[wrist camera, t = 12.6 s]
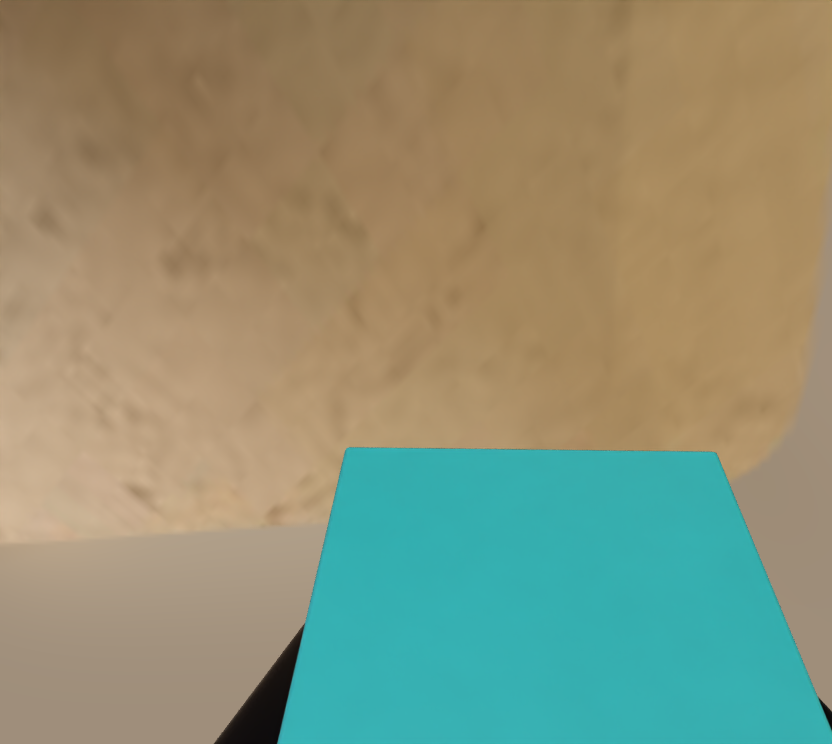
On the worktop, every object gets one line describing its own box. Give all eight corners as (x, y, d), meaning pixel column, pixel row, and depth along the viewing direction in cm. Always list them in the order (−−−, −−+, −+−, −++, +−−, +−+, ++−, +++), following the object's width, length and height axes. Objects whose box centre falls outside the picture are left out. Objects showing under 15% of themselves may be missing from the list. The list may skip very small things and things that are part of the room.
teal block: (716, 449, 8) (876, 831, 5) (668, 689, 11) (758, 1073, 7) (345, 444, 9) (260, 804, 5) (369, 680, 11) (320, 1042, 7)
